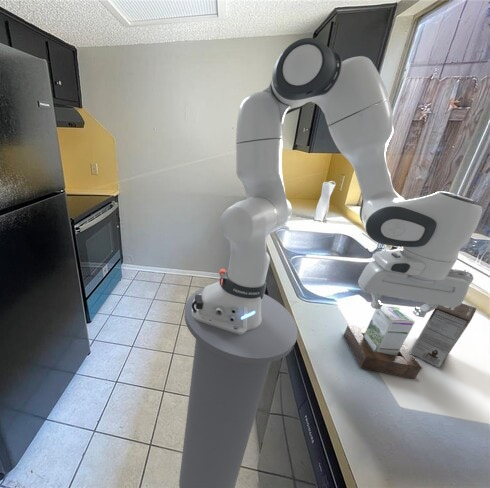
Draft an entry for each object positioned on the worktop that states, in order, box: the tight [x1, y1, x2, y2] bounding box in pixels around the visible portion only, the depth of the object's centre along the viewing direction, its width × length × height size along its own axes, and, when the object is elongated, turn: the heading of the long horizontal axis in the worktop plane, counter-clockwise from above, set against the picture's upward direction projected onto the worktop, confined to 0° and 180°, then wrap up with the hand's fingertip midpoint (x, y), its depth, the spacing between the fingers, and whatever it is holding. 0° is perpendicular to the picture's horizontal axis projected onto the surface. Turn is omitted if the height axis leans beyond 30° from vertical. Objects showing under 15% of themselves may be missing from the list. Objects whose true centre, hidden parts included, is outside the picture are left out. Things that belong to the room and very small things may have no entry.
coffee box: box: [409, 302, 477, 368], centre depth 69 cm, size 9×6×16 cm
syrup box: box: [364, 305, 416, 356], centre depth 68 cm, size 6×6×14 cm
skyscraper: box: [313, 180, 336, 223], centre depth 177 cm, size 8×8×28 cm
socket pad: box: [343, 324, 423, 380], centre depth 70 cm, size 12×12×4 cm
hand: (396, 311), depth 65 cm, fingers open, 8 cm apart
